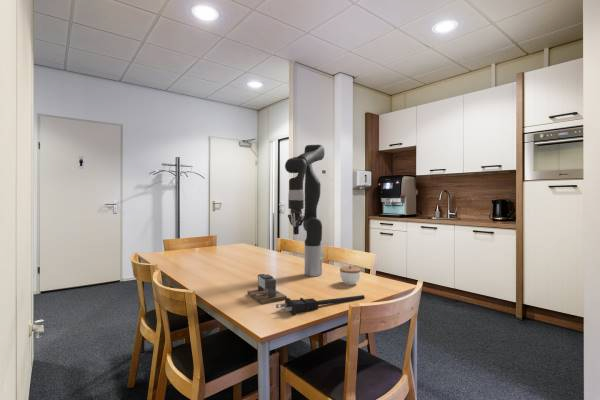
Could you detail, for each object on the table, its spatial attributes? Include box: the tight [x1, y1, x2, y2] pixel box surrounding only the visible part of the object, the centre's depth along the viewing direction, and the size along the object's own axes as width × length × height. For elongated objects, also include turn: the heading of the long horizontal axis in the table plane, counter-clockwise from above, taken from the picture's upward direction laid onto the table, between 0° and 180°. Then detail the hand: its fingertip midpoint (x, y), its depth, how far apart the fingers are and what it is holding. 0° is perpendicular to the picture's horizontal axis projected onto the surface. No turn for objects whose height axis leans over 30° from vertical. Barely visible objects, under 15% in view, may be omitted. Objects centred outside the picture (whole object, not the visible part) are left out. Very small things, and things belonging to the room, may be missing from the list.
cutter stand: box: [247, 273, 288, 305], centre depth 144 cm, size 16×12×9 cm
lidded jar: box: [339, 265, 362, 286], centre depth 167 cm, size 11×11×9 cm
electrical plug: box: [275, 294, 365, 316], centre depth 134 cm, size 9×42×5 cm, turn 117°
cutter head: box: [257, 273, 276, 294], centre depth 144 cm, size 7×5×8 cm
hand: (296, 234), depth 157 cm, fingers closed
